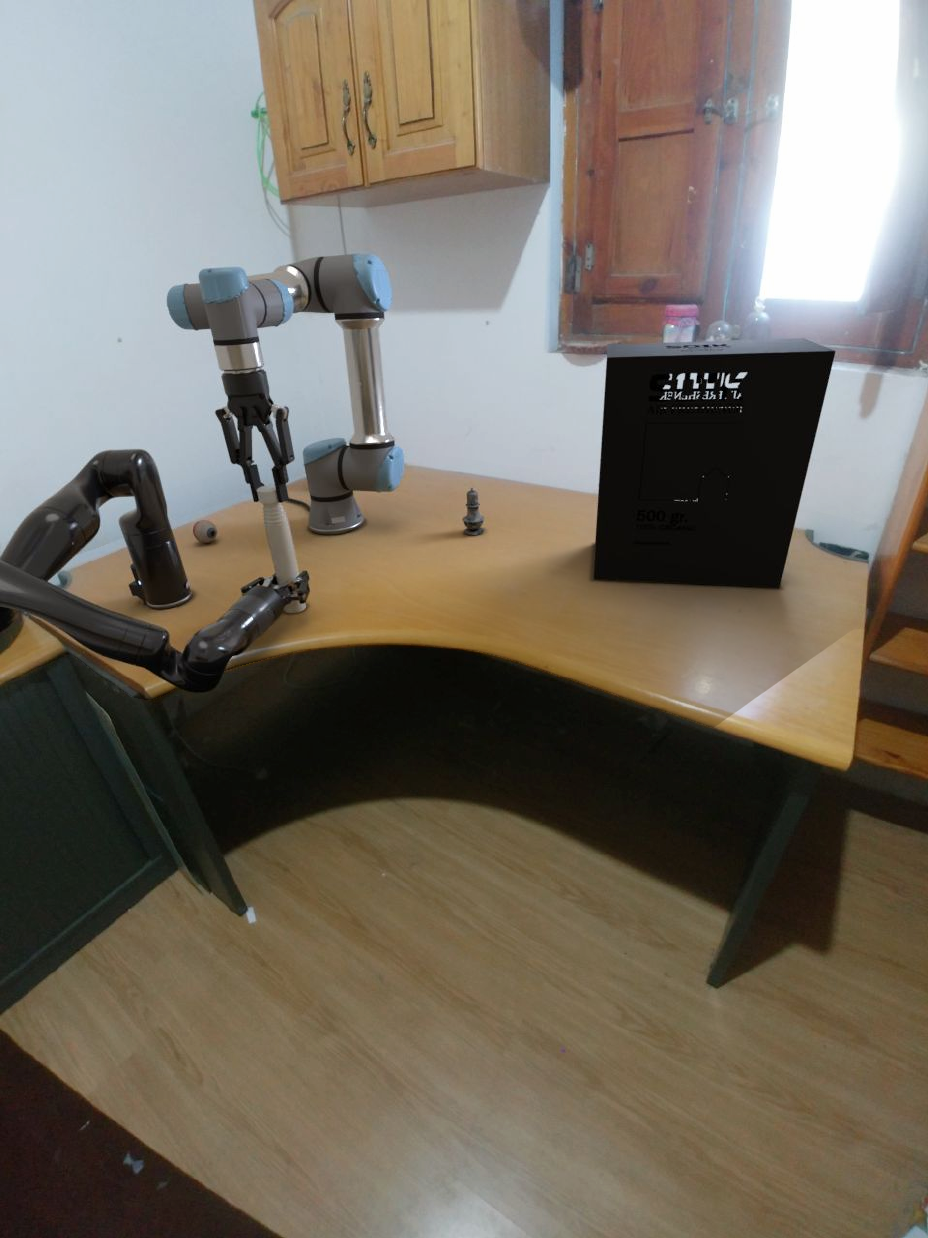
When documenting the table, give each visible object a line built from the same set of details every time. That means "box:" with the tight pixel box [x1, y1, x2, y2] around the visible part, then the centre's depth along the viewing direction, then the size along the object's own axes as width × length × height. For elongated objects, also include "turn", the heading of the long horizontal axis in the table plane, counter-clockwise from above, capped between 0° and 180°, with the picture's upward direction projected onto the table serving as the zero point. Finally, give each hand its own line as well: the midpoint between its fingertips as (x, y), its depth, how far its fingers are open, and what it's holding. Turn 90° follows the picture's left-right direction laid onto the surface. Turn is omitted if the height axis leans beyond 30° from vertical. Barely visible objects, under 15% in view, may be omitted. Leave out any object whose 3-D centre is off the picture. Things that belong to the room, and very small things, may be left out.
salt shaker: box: [461, 487, 485, 536], centre depth 157 cm, size 6×6×12 cm
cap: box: [257, 484, 278, 504], centre depth 115 cm, size 4×4×2 cm
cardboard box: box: [592, 337, 836, 589], centre depth 125 cm, size 38×20×45 cm, turn 78°
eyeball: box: [192, 519, 218, 544], centre depth 162 cm, size 6×6×6 cm
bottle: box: [262, 502, 307, 614], centre depth 122 cm, size 5×5×25 cm
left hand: (294, 574), depth 127 cm, fingers closed on bottle, 4 cm apart
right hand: (271, 499), depth 116 cm, fingers closed on cap, 4 cm apart
